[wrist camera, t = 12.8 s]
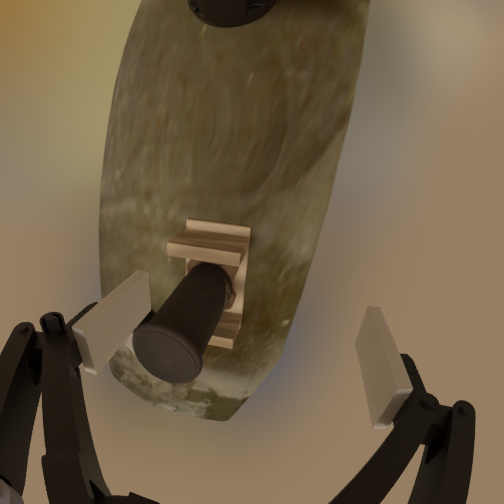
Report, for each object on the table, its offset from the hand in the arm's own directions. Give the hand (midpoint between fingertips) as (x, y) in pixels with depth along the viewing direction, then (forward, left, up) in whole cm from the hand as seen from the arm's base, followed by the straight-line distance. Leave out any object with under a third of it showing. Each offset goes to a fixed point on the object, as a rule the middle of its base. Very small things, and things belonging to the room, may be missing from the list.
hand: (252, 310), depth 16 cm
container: (+14, -10, -28) cm, 33 cm away
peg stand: (+14, -10, -32) cm, 36 cm away
